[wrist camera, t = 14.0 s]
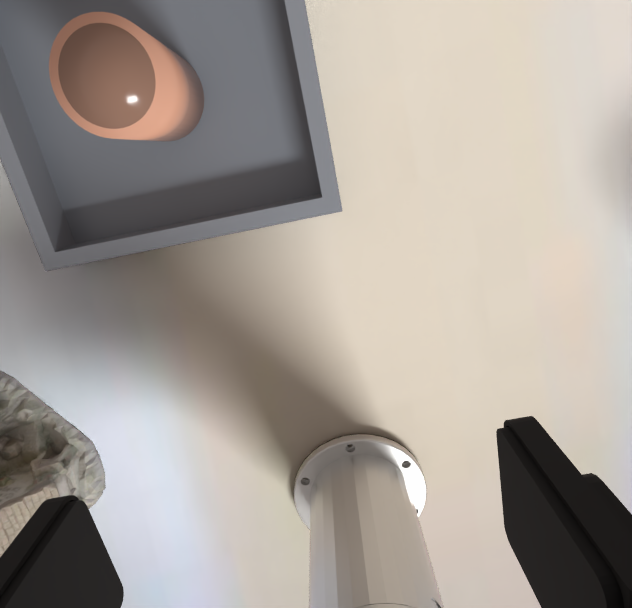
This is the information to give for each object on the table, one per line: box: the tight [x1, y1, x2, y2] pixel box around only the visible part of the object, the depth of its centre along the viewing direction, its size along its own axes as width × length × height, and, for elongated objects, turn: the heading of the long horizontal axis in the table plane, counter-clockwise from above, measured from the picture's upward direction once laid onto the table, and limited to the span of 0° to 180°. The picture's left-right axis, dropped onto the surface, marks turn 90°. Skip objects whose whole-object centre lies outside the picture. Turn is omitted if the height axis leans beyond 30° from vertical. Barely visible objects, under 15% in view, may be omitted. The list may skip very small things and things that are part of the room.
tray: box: [0, 0, 342, 271], centre depth 31 cm, size 20×22×4 cm
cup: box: [49, 12, 204, 142], centre depth 28 cm, size 6×6×9 cm
